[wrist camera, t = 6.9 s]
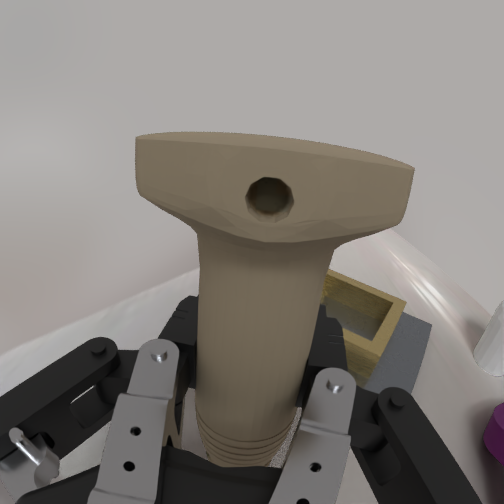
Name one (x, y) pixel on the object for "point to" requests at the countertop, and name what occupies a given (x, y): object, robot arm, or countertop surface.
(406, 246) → the countertop surface
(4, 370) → the countertop surface
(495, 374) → the capsule
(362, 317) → the plate
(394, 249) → the countertop surface
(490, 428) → the mounting bracket
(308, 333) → the handle
